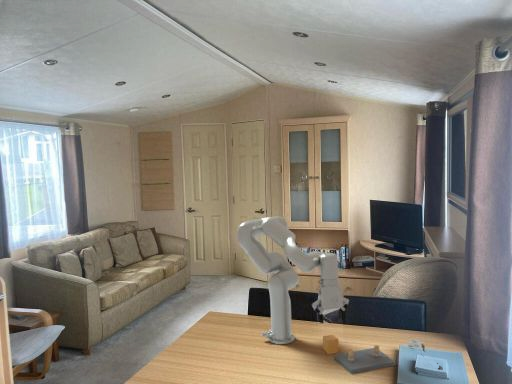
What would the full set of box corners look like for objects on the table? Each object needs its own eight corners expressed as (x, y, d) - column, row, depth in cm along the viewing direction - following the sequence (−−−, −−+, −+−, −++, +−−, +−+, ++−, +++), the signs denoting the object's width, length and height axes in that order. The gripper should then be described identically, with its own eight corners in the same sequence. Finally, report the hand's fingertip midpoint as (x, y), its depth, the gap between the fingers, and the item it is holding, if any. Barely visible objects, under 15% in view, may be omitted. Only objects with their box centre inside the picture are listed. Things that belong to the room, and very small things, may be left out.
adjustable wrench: (441, 370, 159) (441, 365, 159) (425, 370, 160) (424, 366, 159) (419, 343, 184) (419, 339, 184) (404, 343, 184) (404, 339, 184)
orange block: (328, 353, 175) (327, 340, 175) (323, 349, 180) (322, 336, 180) (338, 352, 177) (338, 338, 176) (333, 347, 181) (333, 334, 181)
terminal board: (351, 373, 158) (350, 359, 157) (334, 358, 171) (333, 345, 171) (395, 365, 163) (395, 351, 163) (375, 351, 177) (375, 338, 176)
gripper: (315, 286, 171) (316, 326, 171) (351, 281, 176) (353, 320, 176) (307, 282, 178) (309, 321, 178) (343, 277, 183) (344, 315, 183)
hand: (331, 320), depth 177 cm, fingers open, 9 cm apart
